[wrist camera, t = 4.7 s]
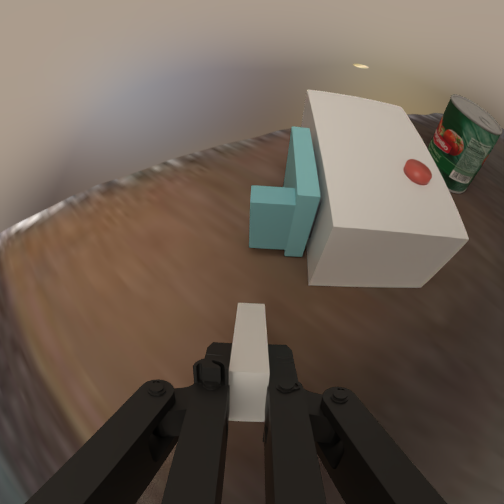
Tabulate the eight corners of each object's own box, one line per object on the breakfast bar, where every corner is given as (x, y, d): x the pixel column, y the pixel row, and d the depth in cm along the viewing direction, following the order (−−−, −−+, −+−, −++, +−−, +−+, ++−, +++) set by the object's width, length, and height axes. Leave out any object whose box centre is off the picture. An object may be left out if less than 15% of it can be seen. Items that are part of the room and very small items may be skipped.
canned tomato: (411, 155, 34) (439, 90, 25) (443, 153, 35) (470, 97, 26) (445, 198, 30) (485, 132, 21) (474, 190, 31) (510, 134, 22)
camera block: (378, 150, 34) (398, 96, 26) (420, 287, 23) (473, 234, 16) (295, 139, 34) (304, 78, 27) (306, 285, 23) (332, 220, 16)
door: (297, 188, 29) (309, 128, 22) (302, 256, 25) (320, 196, 18) (253, 185, 29) (255, 124, 22) (248, 254, 25) (250, 192, 18)
